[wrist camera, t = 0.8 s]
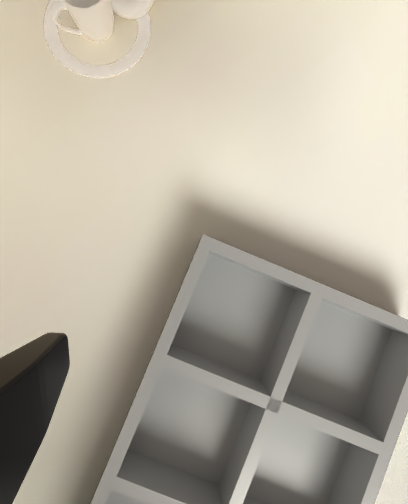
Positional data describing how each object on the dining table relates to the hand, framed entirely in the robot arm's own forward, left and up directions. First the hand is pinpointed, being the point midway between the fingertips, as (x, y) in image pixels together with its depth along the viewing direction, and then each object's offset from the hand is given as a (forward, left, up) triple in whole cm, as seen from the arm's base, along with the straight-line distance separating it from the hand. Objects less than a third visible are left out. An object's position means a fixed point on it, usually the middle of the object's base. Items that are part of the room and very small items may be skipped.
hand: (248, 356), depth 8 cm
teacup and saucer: (+16, +12, -16) cm, 26 cm away
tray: (-8, -6, -15) cm, 19 cm away
